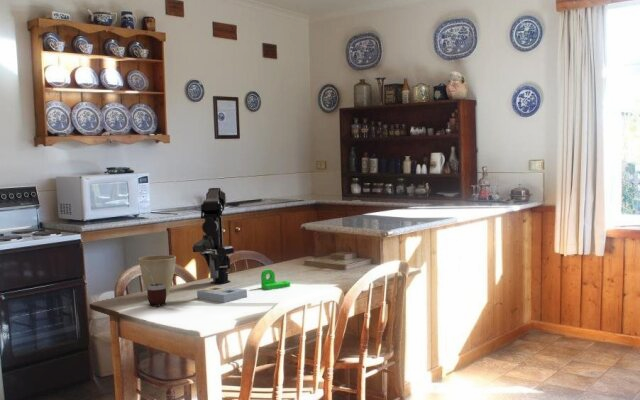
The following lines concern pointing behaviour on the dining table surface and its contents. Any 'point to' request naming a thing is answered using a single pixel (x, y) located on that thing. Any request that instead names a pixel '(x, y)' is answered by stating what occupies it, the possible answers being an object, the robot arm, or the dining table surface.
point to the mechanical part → (272, 281)
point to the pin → (212, 267)
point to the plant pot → (158, 270)
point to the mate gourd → (156, 293)
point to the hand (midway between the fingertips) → (213, 270)
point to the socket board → (222, 294)
